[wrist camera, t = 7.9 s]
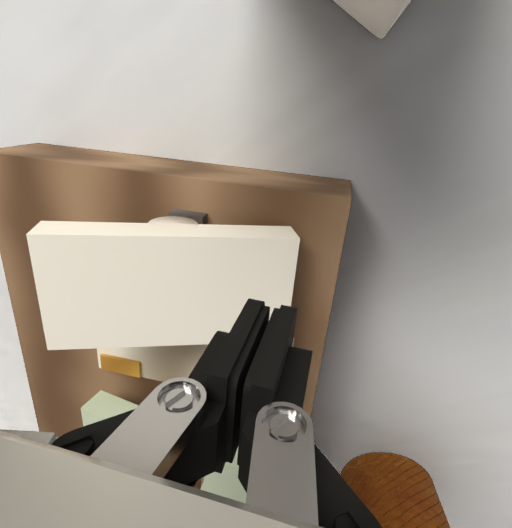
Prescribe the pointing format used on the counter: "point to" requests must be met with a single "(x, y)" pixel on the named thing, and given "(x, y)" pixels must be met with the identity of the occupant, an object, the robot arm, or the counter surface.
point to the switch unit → (142, 211)
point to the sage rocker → (112, 405)
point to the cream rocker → (155, 279)
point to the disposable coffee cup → (395, 491)
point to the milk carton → (375, 13)
